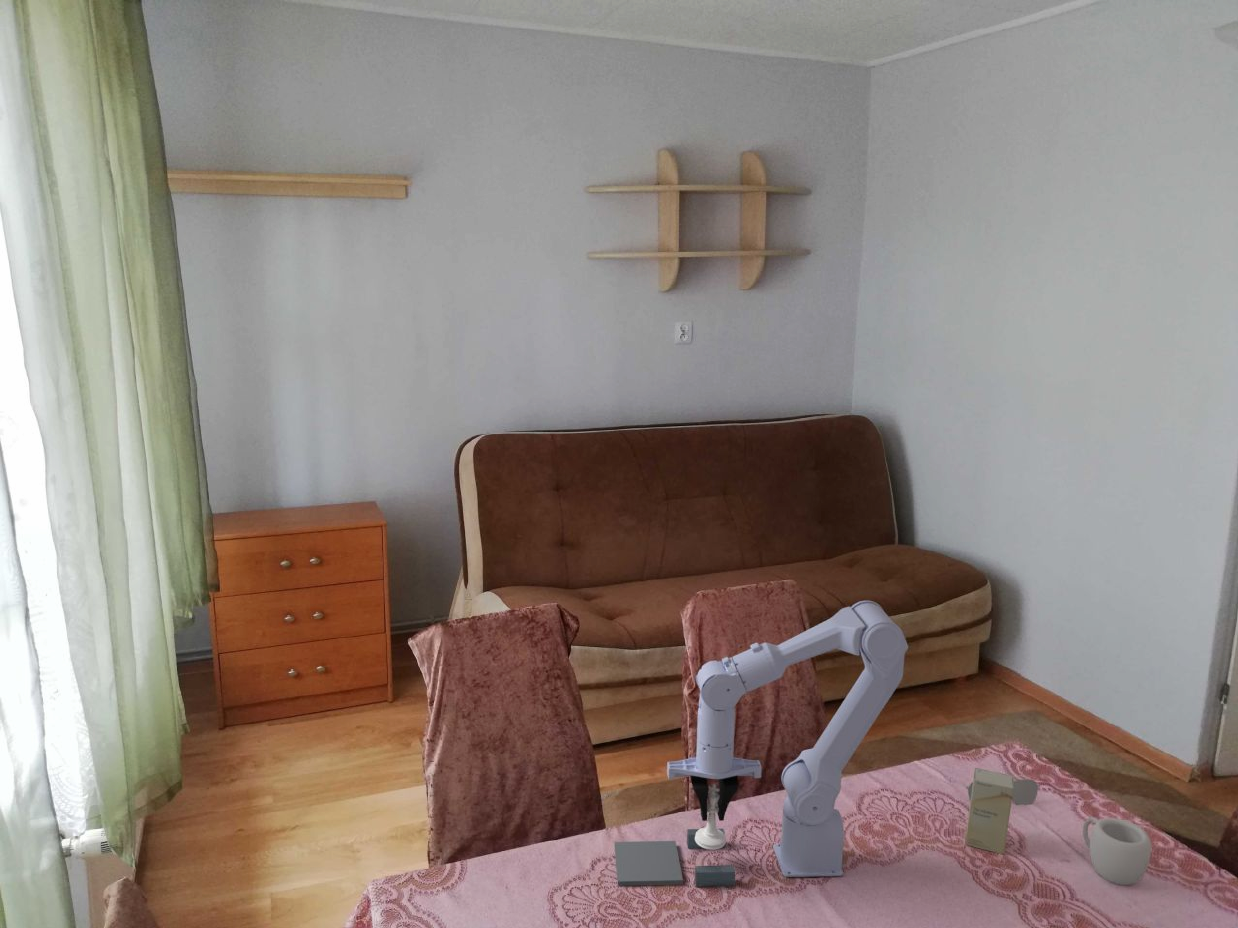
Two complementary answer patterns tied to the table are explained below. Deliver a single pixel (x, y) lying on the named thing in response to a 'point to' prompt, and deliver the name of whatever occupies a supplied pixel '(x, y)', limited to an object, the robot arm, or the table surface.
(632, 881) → the mat
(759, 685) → the robot arm
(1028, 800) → the sunglasses
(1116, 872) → the mug
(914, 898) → the table surface
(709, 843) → the chess piece
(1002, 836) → the skincare box
